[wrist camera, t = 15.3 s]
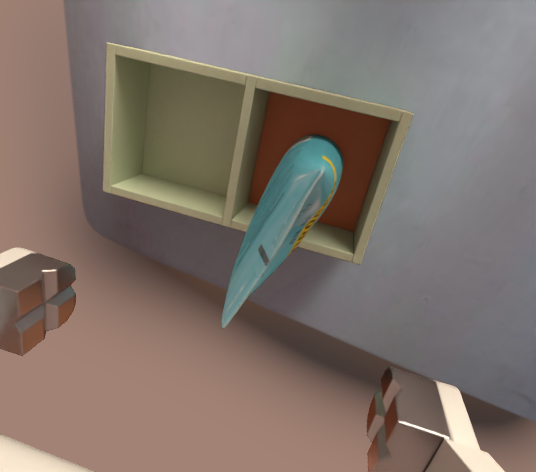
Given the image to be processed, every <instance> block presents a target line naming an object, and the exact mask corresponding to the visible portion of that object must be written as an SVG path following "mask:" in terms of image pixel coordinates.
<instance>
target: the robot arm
mask: <svg viewBox="0 0 536 472" xmlns="http://www.w3.org/2000/svg"><path fill="white" fill-rule="evenodd" d="M75 280H76V277H75V268H74V267H73V266H72V265H71V264H68V263H65V262H62V261H59V260H56V259H54V258H51V257H47V256H45V255H42V254H39V253H35V252H33V251H30V250H27V249H23V248H12V249H10V250H8V251H5V252H3V253H1V254H0V349H2V350H5V351H8V352H12V353H15V354H18V355H21V356H23V355H24V354H26V353H27V352H28V351H30V350H31V349H32V348H33V347H35V346H36V345H37V344H38V343H40V342H41V341H42V340H44V338H45V334H46V331H49V330H53V329H56V328H59V327H60V326H61V325H62V324H64V323H65V322H66V321H67V320H68V318H69V317H70V315H71V314H72V312H73V310H74V307H75V303H76V294H75V292H74V290H73V289H72V287H71V284H72V283H73V282H74V281H75ZM381 385H382V390H381V391H379V392H377V393H375V394H374V397H373V400H372V402H371V405H370V408H369V413H368V419H367V436H368V438H369V439H370V441H371V442H372V444H371V447H370V448H369V451H368V453H367V455H368V472H505V471H504V470H503V469H502V468H501V467H500V466H499V465H498V463H496V461H495V460H494V459H493V458H492V457H491V456H490V455H489V454H488V453H487V452H484V451H481V450H480V448H479V445H478V442H477V439H476V437H475V434H474V431H473V428H472V425H471V422H470V419H469V417H468V414H467V411H466V408H465V405H464V402H463V399H462V397H461V394H460V391H459V390H458V389H457V387H455V386H452V385H449V384H445V383H442V382H438V381H435V380H429V379H426V378H423V377H419V376H416V375H413V374H410V373H407V372H404V371H401V370H397V369H394V368H391V367H388V368H387V369H386V370H385V372H384V374H383V376H382V379H381ZM0 472H94V471H92V470H89V469H87V468H84V467H82V466H79V465H77V464H74V463H72V462H69V461H67V460H64V459H62V458H59V457H57V456H54V455H52V454H49V453H47V452H44V451H42V450H39V449H37V448H34V447H32V446H29V445H27V444H24V443H22V442H19V441H16V440H14V439H12V438H9V437H7V436H4V435H2V434H0Z"/></svg>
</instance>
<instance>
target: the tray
mask: <svg viewBox="0 0 536 472" xmlns="http://www.w3.org/2000/svg"><path fill="white" fill-rule="evenodd" d="M412 117H413V113H411V112H408V111H405V110H403V109H398V108H394V107H390V106H385V105H381V104H377V103H372V102H368V101H364V100H359V99H355V98H351V97H346V96H342V95H338V94H333V93H329V92H325V91H320V90H316V89H312V88H307V87H303V86H299V85H294V84H290V83H286V82H281V81H277V80H273V79H268V78H264V77H260V76H255V75H251V74H247V73H242V72H238V71H234V70H229V69H225V68H221V67H217V66H212V65H208V64H204V63H199V62H195V61H191V60H186V59H182V58H178V57H173V56H169V55H165V54H160V53H156V52H152V51H147V50H142V49H137V48H132V47H127V46H122V45H118V44H113V43H107V52H106V90H105V128H104V167H103V191H104V192H107V193H111V194H114V195H118V196H121V197H125V198H128V199H132V200H135V201H139V202H142V203H146V204H149V205H153V206H156V207H160V208H163V209H167V210H170V211H174V212H177V213H181V214H184V215H188V216H191V217H195V218H198V219H202V220H205V221H209V222H212V223H216V224H219V225H223V226H226V227H230V228H233V229H237V230H240V231H244V232H247V229H248V227H249V225H250V222H251V220H252V217H253V215H254V213H255V211H256V208H257V206H258V204H259V202H260V199H261V197H262V195H263V193H264V191H265V189H266V187H267V185H268V183H269V181H270V179H271V177H272V175H273V173H274V171H275V170H276V168H277V166H278V165H279V163H280V161H281V160H282V158H283V157H284V155H285V154H286V152H287V151H288V149H289V148H290V147H291V145H292V144H293V143H294V142H296V141H297V140H298V139H300V138H302V137H304V136H307V135H314V134H317V135H323V136H326V137H328V138H329V139H331V140H332V141H334V142H335V143H336V144H337V146H338V147H339V148H340V150H341V152H342V155H343V160H344V168H343V173H342V176H341V179H340V182H339V185H338V188H337V190H336V192H335V194H334V196H333V198H332V200H331V202H330V203H329V205H328V206H327V208H326V209H325V211H324V212H323V214H322V215H321V217H320V218H319V219H318V220H317V222H316V223H315V224H314V226H313V227H312V228H311V230H310V231H309V232H308V233H307V235H306V236H305V237H304V238H303V240H302V241H301V242H300V243H299V244H298V246H297V247H300V248H303V249H307V250H310V251H314V252H317V253H321V254H324V255H328V256H331V257H335V258H338V259H342V260H345V261H349V262H352V263H356V264H361V261H362V258H363V255H364V252H365V250H366V247H367V244H368V241H369V238H370V235H371V233H372V230H373V227H374V224H375V221H376V219H377V216H378V213H379V210H380V207H381V204H382V202H383V199H384V196H385V193H386V190H387V187H388V185H389V182H390V179H391V176H392V173H393V171H394V168H395V165H396V162H397V159H398V156H399V154H400V151H401V148H402V145H403V142H404V139H405V137H406V134H407V131H408V128H409V125H410V123H411V120H412Z"/></svg>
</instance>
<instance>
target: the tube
mask: <svg viewBox="0 0 536 472" xmlns="http://www.w3.org/2000/svg"><path fill="white" fill-rule="evenodd" d="M343 168H344V160H343V155H342V152H341V150H340V148H339V147H338V146H337V144H336V143H335V142H334V141H332V140H331V139H329V138H328V137H326V136H323V135H317V134H314V135H307V136H304V137H302V138H300V139H298V140H297V141H296V142H294V143H293V144H292V145H291V147H290V148H289V149H288V151H287V152H286V154H285V155H284V157H283V158H282V160H281V161H280V163H279V165H278V166H277V168H276V170H275V171H274V173H273V175H272V177H271V179H270V181H269V183H268V185H267V187H266V189H265V191H264V193H263V195H262V197H261V199H260V202H259V204H258V206H257V208H256V211H255V213H254V215H253V217H252V220H251V222H250V225H249V227H248V229H247V232H246V234H245V237H244V240H243V242H242V245H241V248H240V251H239V253H238V256H237V259H236V262H235V265H234V268H233V271H232V275H231V278H230V282H229V286H228V290H227V294H226V299H225V304H224V309H223V313H222V318H221V326H222V328H225V327H226V326H227V325H228V324H229V322H230V321H231V319H232V317H233V316H234V315H235V314H236V313H237V311H238V310H239V309H240V307H241V306H242V304H243V303H244V301H245V300H246V299H247V298H248V297H249V296H250V295H251V294H252V293H253V292H254V291H255V290H256V289H257V288H258V287H259V286H260V285H261V284H262V283H263V282H264V281H265V280H266V279H267V278H268V277H269V276H270V275H271V274H272V273H273V272H274V271H275V270H276V269H277V268H278V267H279V265H280V264H281V263H282V262H283V261H284V260H285V259H286V258H287V257H288V256H289V255H290V254H291V252H292V251H293V250H294V249H295V248H296V247H297V246H298V244H299V243H300V242H301V241H302V240H303V238H304V237H305V236H306V235H307V233H308V232H309V231H310V230H311V228H312V227H313V226H314V224H315V223H316V222H317V220H318V219H319V218H320V217H321V215H322V214H323V212H324V211H325V209H326V208H327V206H328V205H329V203H330V202H331V200H332V198H333V196H334V194H335V192H336V190H337V188H338V185H339V182H340V179H341V176H342V173H343Z"/></svg>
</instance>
